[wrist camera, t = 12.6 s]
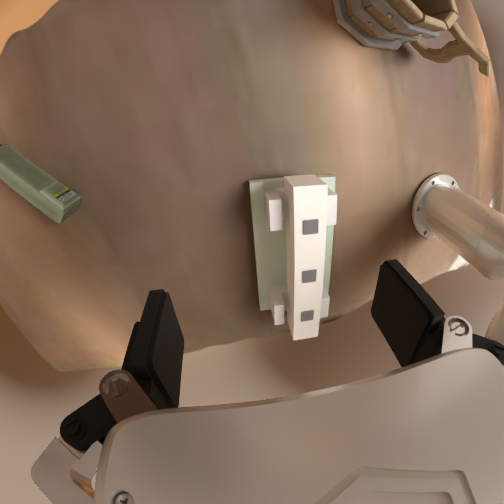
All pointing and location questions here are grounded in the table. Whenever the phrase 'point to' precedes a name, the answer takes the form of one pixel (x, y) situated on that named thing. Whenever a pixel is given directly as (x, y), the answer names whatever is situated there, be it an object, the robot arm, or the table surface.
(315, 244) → the power strip
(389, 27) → the tankard
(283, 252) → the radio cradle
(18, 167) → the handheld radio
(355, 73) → the table surface
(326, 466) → the robot arm
